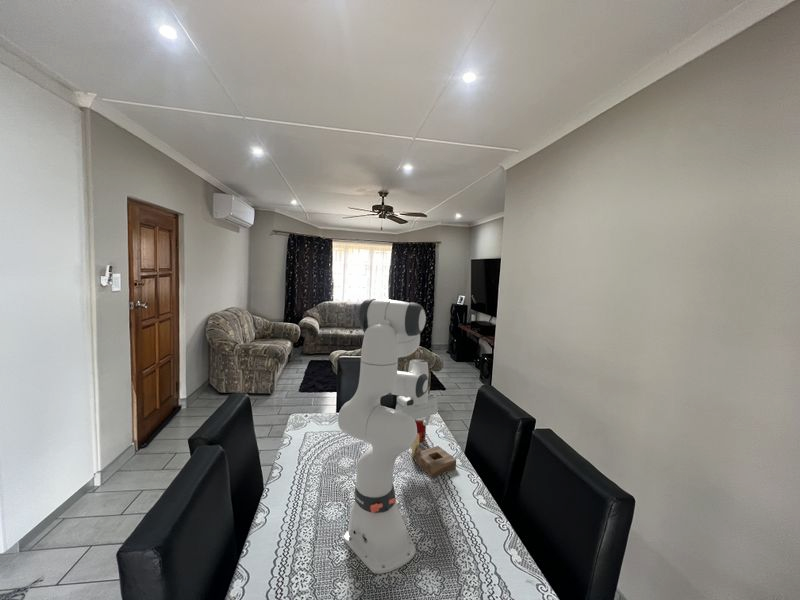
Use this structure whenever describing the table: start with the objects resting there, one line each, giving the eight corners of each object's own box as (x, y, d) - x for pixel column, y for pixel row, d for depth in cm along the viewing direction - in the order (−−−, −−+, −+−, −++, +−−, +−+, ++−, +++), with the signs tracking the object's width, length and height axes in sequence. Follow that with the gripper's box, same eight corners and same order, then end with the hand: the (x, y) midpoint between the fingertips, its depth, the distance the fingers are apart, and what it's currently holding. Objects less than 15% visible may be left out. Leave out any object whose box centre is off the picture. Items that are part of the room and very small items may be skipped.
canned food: (425, 442, 154) (426, 420, 154) (408, 442, 155) (409, 419, 154) (424, 434, 162) (425, 413, 161) (408, 434, 162) (409, 412, 161)
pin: (419, 457, 142) (420, 435, 141) (414, 459, 140) (415, 437, 139) (415, 454, 144) (416, 432, 143) (410, 456, 143) (411, 434, 142)
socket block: (455, 468, 135) (456, 459, 134) (432, 477, 128) (432, 467, 128) (437, 454, 145) (438, 445, 144) (415, 461, 138) (415, 452, 138)
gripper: (432, 389, 148) (431, 419, 149) (393, 398, 137) (392, 429, 139) (441, 394, 143) (440, 425, 144) (401, 403, 132) (400, 436, 133)
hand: (416, 427), depth 141 cm, fingers open, 8 cm apart
